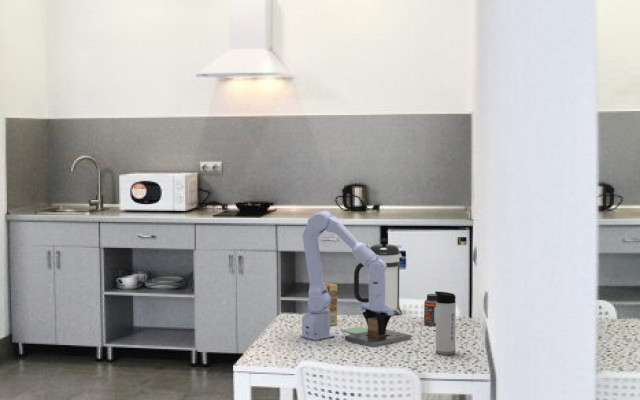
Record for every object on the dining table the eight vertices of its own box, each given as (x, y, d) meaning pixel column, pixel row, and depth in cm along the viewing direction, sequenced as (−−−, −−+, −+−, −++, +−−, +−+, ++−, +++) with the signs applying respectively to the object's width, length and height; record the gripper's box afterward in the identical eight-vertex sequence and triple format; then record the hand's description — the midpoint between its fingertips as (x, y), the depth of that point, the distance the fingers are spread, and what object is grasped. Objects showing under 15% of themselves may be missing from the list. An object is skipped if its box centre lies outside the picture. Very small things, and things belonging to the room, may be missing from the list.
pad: (358, 335, 320) (358, 334, 320) (341, 331, 326) (341, 330, 326) (376, 331, 325) (376, 330, 325) (359, 327, 332) (359, 326, 332)
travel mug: (433, 350, 297) (434, 290, 295) (454, 350, 296) (454, 290, 295) (435, 355, 290) (436, 293, 289) (456, 355, 290) (456, 293, 289)
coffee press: (372, 308, 370) (373, 235, 368) (408, 312, 362) (409, 237, 360) (353, 315, 355) (353, 239, 353) (390, 319, 347) (390, 241, 345)
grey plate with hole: (373, 347, 302) (373, 342, 301) (344, 340, 312) (344, 335, 312) (410, 339, 313) (410, 334, 313) (382, 332, 324) (382, 328, 324)
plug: (376, 341, 309) (376, 320, 309) (367, 339, 313) (367, 318, 312) (386, 339, 312) (386, 318, 312) (377, 337, 316) (377, 316, 315)
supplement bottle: (420, 324, 338) (420, 294, 337) (430, 322, 342) (430, 292, 341) (433, 326, 334) (433, 296, 333) (443, 324, 338) (443, 294, 337)
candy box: (338, 324, 337) (338, 284, 336) (329, 326, 335) (329, 285, 334) (322, 321, 344) (322, 281, 343) (314, 322, 342) (314, 282, 341)
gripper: (400, 295, 308) (400, 334, 309) (370, 289, 319) (370, 327, 320) (385, 297, 304) (385, 337, 305) (356, 292, 315) (356, 330, 316)
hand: (376, 332), depth 312 cm, fingers closed on plug, 4 cm apart
